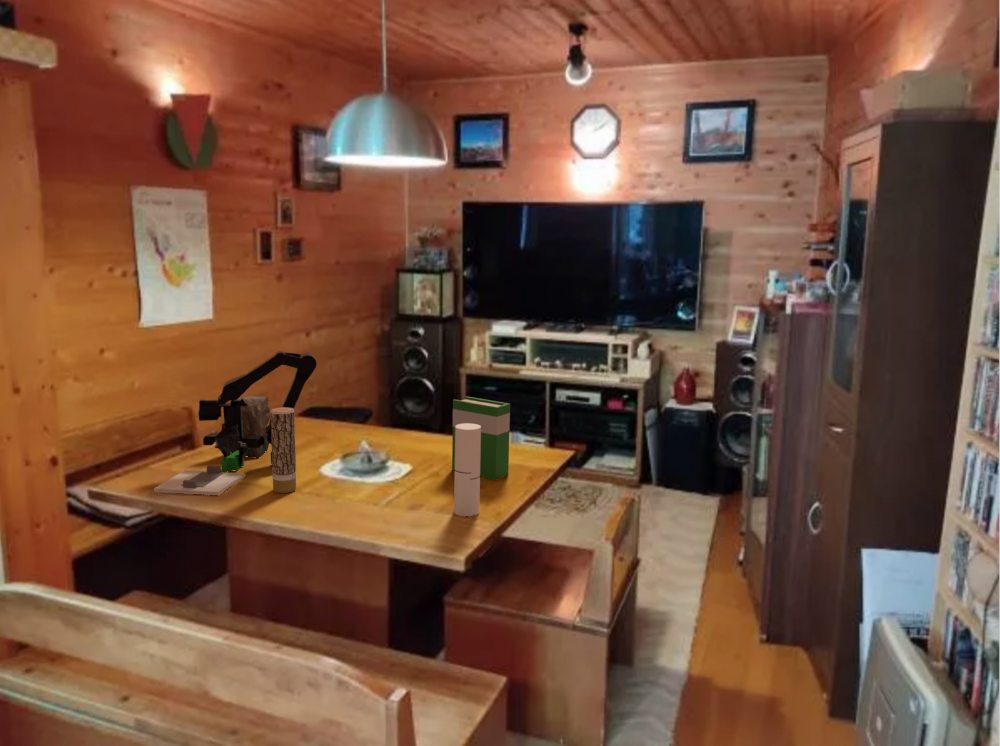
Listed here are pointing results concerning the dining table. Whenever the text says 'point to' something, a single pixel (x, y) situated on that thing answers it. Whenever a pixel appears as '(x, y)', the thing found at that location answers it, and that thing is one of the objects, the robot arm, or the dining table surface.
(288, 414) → the bark textured cylinder
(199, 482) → the door panel
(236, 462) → the green angled block
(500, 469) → the hardback book
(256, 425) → the grey brown rock block
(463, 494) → the cylindrical container
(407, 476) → the dining table surface
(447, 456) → the dining table surface
